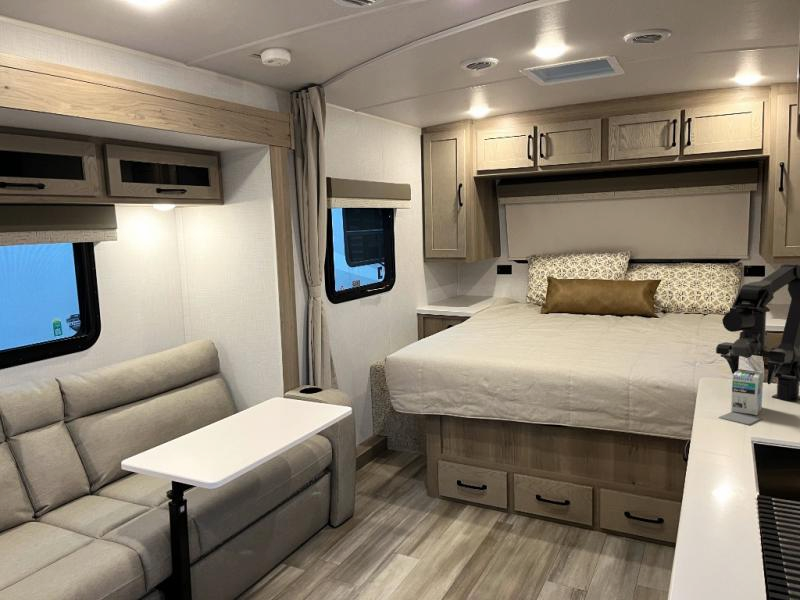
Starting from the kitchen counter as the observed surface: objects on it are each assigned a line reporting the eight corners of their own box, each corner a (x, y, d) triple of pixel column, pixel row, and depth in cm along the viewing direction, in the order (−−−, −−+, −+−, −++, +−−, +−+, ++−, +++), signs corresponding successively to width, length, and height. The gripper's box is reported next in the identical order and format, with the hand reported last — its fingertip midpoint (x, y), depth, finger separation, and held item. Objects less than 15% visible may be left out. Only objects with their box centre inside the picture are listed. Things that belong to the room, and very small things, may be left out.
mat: (732, 412, 173) (732, 411, 173) (762, 419, 167) (762, 417, 167) (718, 418, 168) (718, 417, 168) (748, 425, 162) (748, 423, 162)
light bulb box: (757, 415, 168) (759, 377, 167) (730, 411, 172) (731, 374, 172) (762, 407, 177) (764, 371, 176) (736, 403, 181) (737, 368, 180)
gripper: (707, 328, 177) (705, 380, 179) (776, 335, 162) (774, 392, 163) (726, 323, 183) (724, 374, 185) (794, 330, 168) (792, 385, 170)
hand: (752, 381), depth 176 cm, fingers open, 9 cm apart
